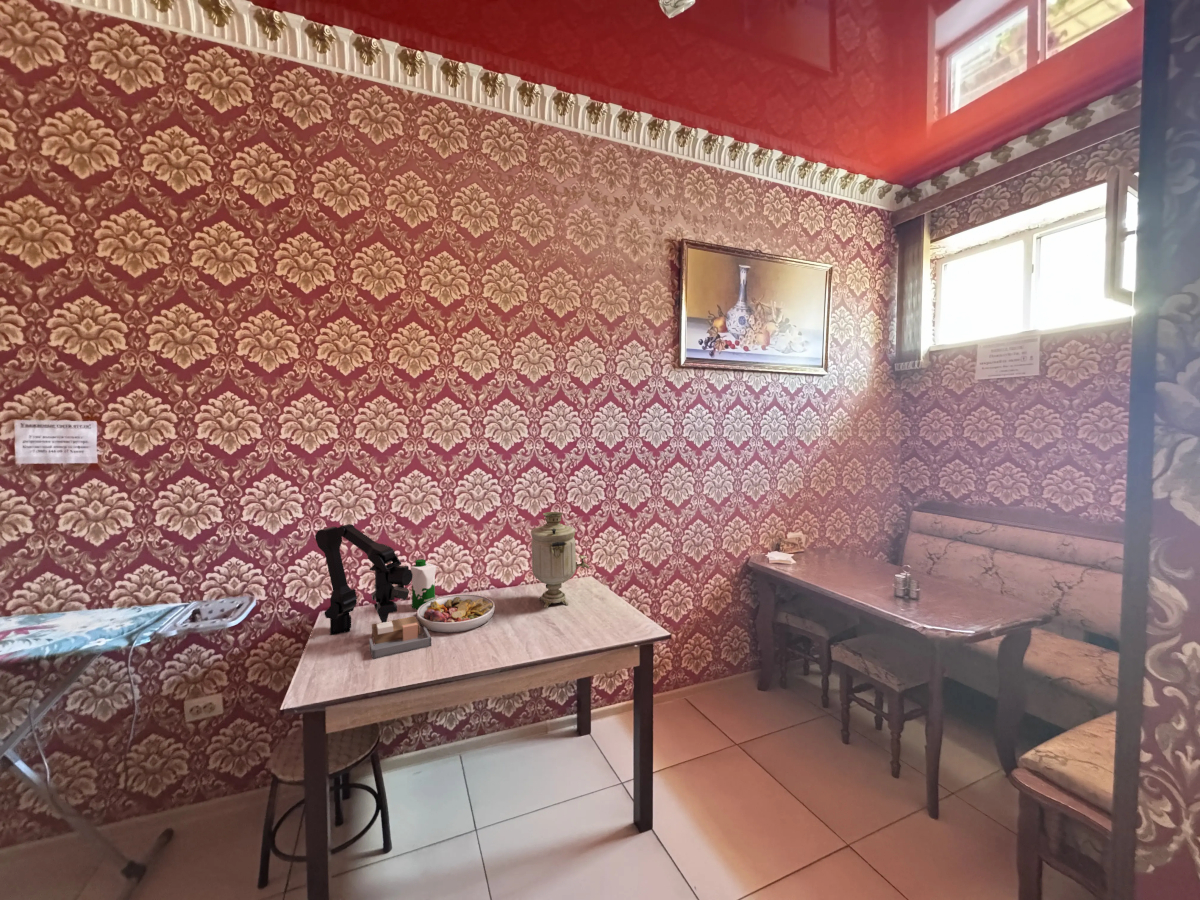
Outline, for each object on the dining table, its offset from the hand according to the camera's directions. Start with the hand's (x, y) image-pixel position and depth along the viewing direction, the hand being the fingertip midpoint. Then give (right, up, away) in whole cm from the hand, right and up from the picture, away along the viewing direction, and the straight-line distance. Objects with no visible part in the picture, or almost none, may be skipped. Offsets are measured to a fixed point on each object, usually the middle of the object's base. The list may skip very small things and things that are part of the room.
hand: (384, 624), depth 172 cm
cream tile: (+2, -1, -3) cm, 3 cm away
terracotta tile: (+10, -2, -1) cm, 10 cm away
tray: (+9, -6, -7) cm, 12 cm away
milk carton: (+4, -4, +29) cm, 29 cm away
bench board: (+3, -5, +2) cm, 6 cm away
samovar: (+61, -4, +37) cm, 72 cm away
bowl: (+21, -5, +18) cm, 28 cm away
